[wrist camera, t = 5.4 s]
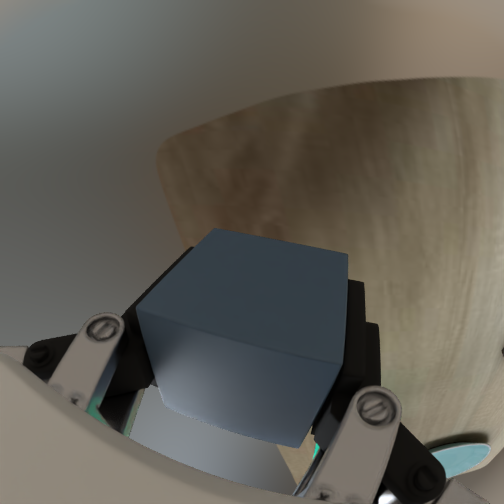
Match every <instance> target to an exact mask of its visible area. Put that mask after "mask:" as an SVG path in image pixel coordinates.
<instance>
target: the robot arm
mask: <svg viewBox="0 0 504 504" xmlns="http://www.w3.org/2000/svg"><path fill="white" fill-rule="evenodd" d="M193 248H194V247H190V248H189V249H188V250H187V251H185V252H184V253H183V254H182V255H181V256H180V258H178V259H177V260H176V261H175V262H174V263H173V264H172V265H171V266H170V267H169V268H168V269H167V270H166V271H165V272H164V273H163V274H162V275H161V276H160V277H159V278H158V279H157V280H156V281H155V282H154V283H153V284H152V285H151V286H150V287H149V288H148V289H147V290H146V291H145V292H144V293H143V294H142V295H141V296H140V297H139V298H138V299H137V300H136V301H135V302H134V303H133V304H132V305H131V306H130V307H129V308H128V309H127V310H126V312H125V313H124V314H123V315H122V316H121V317H120V316H119V315H117V314H114V313H109V312H104V313H99V314H96V315H94V316H92V317H91V318H89V319H88V320H87V321H86V322H85V323H84V325H83V326H82V328H81V329H80V331H79V332H78V333H77V334H72V335H67V336H62V337H56V338H51V339H46V340H41V341H38V342H36V343H34V344H32V345H31V346H30V347H28V346H0V504H490V503H489V502H488V501H487V500H485V499H484V498H482V497H480V496H479V495H477V494H476V493H474V492H473V491H471V490H470V489H468V488H467V487H465V486H464V485H462V484H461V483H460V482H458V481H457V480H455V479H454V478H452V479H450V480H449V479H448V478H446V472H445V469H444V467H443V465H442V464H441V463H440V462H439V461H438V460H437V459H436V458H435V457H434V456H433V455H432V454H431V453H430V452H429V451H428V449H427V448H426V447H425V446H424V445H423V444H422V443H421V442H420V441H419V440H418V439H417V438H416V437H415V436H414V435H413V434H412V433H411V432H410V431H409V430H408V429H407V428H406V427H405V426H404V425H403V424H402V423H401V422H400V420H401V416H402V407H401V403H400V401H399V399H398V398H397V396H396V395H395V394H394V393H393V392H392V391H390V390H388V389H386V388H384V387H381V363H380V339H379V326H378V324H375V323H370V322H366V315H365V290H364V282H360V281H355V280H350V279H348V290H347V314H346V331H345V344H344V356H343V364H342V367H341V369H340V371H339V373H338V375H337V377H336V379H335V382H334V384H333V386H332V388H331V390H330V392H329V394H328V396H327V398H326V400H325V402H324V404H323V406H322V408H321V410H320V412H319V413H318V415H317V417H316V419H315V421H314V423H313V425H312V431H311V434H313V435H315V436H314V441H315V442H316V443H317V444H318V446H319V449H318V451H317V453H316V455H315V457H314V459H313V461H312V462H311V464H310V466H309V468H308V469H307V471H306V473H305V475H304V476H303V478H302V480H301V481H300V483H299V485H298V486H297V488H296V490H295V492H294V493H293V495H292V496H290V495H285V494H280V493H275V492H271V491H266V490H262V489H258V488H254V487H251V486H247V485H243V484H239V483H236V482H233V481H230V480H226V479H224V478H220V477H217V476H215V475H211V474H208V473H206V472H203V471H200V470H198V469H195V468H193V467H190V466H187V465H185V464H182V463H180V462H178V461H175V460H173V459H170V458H168V457H166V456H164V455H162V454H160V453H158V452H155V451H153V450H151V449H149V448H147V447H145V446H143V445H141V444H139V443H137V442H135V441H133V440H132V439H130V438H129V436H130V432H131V429H132V426H133V423H134V420H135V417H136V414H137V411H138V408H139V406H140V403H141V400H142V397H143V394H144V391H145V388H148V387H149V385H150V384H151V385H153V386H156V387H158V385H157V382H156V379H155V376H154V373H153V369H152V366H151V363H150V360H149V356H148V353H147V349H146V346H145V342H144V339H143V335H142V331H141V328H140V324H139V320H138V316H137V312H136V306H137V305H138V304H139V303H140V302H141V301H142V300H143V299H144V298H145V297H146V296H147V295H148V294H149V293H150V291H151V290H152V289H153V288H154V287H155V286H156V285H157V284H158V283H159V282H160V281H161V280H162V279H163V278H164V277H165V276H166V275H167V274H168V273H169V272H170V271H171V270H172V269H173V268H174V267H175V266H176V265H177V264H178V263H179V262H180V261H181V260H182V259H183V258H184V257H185V256H186V255H187V254H188V253H189V252H190V251H191V250H192V249H193Z"/></svg>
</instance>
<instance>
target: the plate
mask: <svg viewBox="0 0 504 504" xmlns="http://www.w3.org/2000/svg"><path fill="white" fill-rule="evenodd" d="M428 451H429V452H430V453H431V454H432V455H433V456H434V457H435V458H436V459H437V460H438V461H439V462H440V463H441V464H442V465H443V467H444V469H445V472H446V478H449V477H452V476H455V475H457V474H460V473H462V472H464V471H466V470H468V469H470V468H472V467H474V466H476V465H477V464H479V463H480V462H481V461H482V460H484V459H485V458H486V457H487V455H488V454H489V453H490V451H491V446H490V445H488V444H486V443H467V442H460V443H452V444H447V445H443V446H439V447H436V448H433V449H430V450H428Z"/></svg>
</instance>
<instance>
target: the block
mask: <svg viewBox="0 0 504 504" xmlns="http://www.w3.org/2000/svg"><path fill="white" fill-rule="evenodd" d="M347 290H348V254H345V253H340V252H336V251H331V250H326V249H321V248H316V247H311V246H306V245H301V244H296V243H291V242H285V241H280V240H275V239H270V238H265V237H260V236H254V235H249V234H244V233H239V232H233V231H228V230H223V229H217V228H214V229H213V230H212V231H211V232H210V233H209V234H208V235H207V236H206V237H205V238H204V239H203V240H201V241H200V242H199V243H198V244H197V245H196V246H195V247H194V248H193V249H192V250H191V251H190V252H189V253H188V254H187V255H186V256H185V257H184V258H183V259H182V260H181V261H180V262H179V263H178V264H177V265H176V266H175V267H174V268H173V269H172V270H171V271H170V272H169V273H168V274H167V275H166V276H165V277H164V278H163V279H162V280H161V281H160V282H159V283H158V284H157V285H156V286H155V287H154V288H153V289H152V290H151V291H150V293H149V294H148V295H147V296H146V297H145V298H144V299H143V300H142V301H141V302H140V303H139V304H138V305H137V306H136V312H137V316H138V320H139V324H140V328H141V331H142V335H143V339H144V342H145V346H146V349H147V353H148V356H149V360H150V363H151V366H152V369H153V373H154V376H155V379H156V382H157V385H158V388H159V391H160V394H161V397H162V399H163V402H164V405H165V407H166V408H168V409H171V410H173V411H176V412H178V413H181V414H183V415H186V416H188V417H191V418H193V419H196V420H199V421H201V422H204V423H207V424H210V425H213V426H216V427H219V428H222V429H225V430H228V431H231V432H235V433H238V434H242V435H244V436H248V437H252V438H255V439H259V440H263V441H267V442H271V443H275V444H279V445H284V446H288V447H293V448H299V447H300V446H301V444H302V442H303V440H304V439H305V437H306V435H307V433H308V432H309V430H310V428H311V426H312V425H313V423H314V421H315V419H316V417H317V415H318V413H319V412H320V410H321V408H322V406H323V404H324V402H325V400H326V398H327V396H328V394H329V392H330V390H331V388H332V386H333V384H334V382H335V379H336V377H337V375H338V373H339V371H340V369H341V367H342V364H343V356H344V344H345V331H346V314H347Z"/></svg>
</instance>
